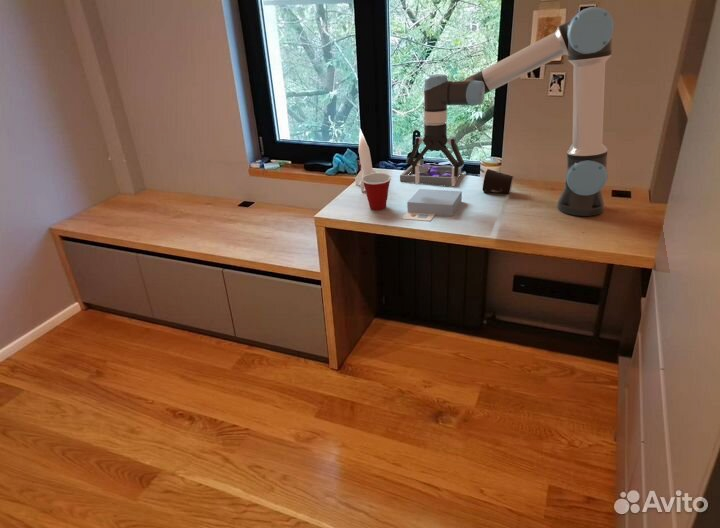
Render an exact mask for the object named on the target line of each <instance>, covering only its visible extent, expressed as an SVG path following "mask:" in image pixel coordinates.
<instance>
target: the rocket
mask: <svg viewBox="0 0 720 528" xmlns="http://www.w3.org/2000/svg"><path fill="white" fill-rule="evenodd" d="M358 139H359V140H358V151H357V152H358V154H359V156H358V157H359V162H360V167H361V169H360V171H359V172H358V173H357V174H356V177H355V178H354V181H355V185H358V186H359V185H360V191H361V192H364V189H365V186H364V183H363V181H362V177H363V176H365V175H368V174H372V173H377V172H376V170H374V169H373V165H372V164H373V163H372V157H371V152H370V148H369V145H368V143H367V141H366V138H365V136H364V133H363V131H362V129H361V128H359V137H358Z"/></svg>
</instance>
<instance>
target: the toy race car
mask: <svg viewBox="0 0 720 528" xmlns="http://www.w3.org/2000/svg"><path fill="white" fill-rule="evenodd" d="M431 166H432V165H431V164H429V163H428V164H427V163H423V164H422V167H419V176H435V177H451V176H452V173H451V172H450V171H446V172H445V173H439V172H438V167H433V168H431Z"/></svg>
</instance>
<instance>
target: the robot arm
mask: <svg viewBox="0 0 720 528" xmlns="http://www.w3.org/2000/svg"><path fill="white" fill-rule="evenodd" d="M614 32H615V22H614V19H613V16H612V15H611V13H610V12H609V11H608V10H607V9H604V8H603V7H600V6H590V7H587V8H586V7H585V8H584V9H582V10H580V11H578V12H577V13H576V14H575V15H574V16H573V17H572V18H571V19H569V20H568V21H566V22H564V23H562V24H561V25H559V26H557V28H556V30H555V31H554V32H553V33H550V34H548V35H546V36H545V37H543V38H541V39H539V40H537V41H535V42H533V43H531V44H529V45H528V46H526V47H524V48H522V49H520V50H518V51H516V52H514V53H513V54H511V55H509V56H507V57H505V58H503V59H501V60H499V61H497V62H496V63H493V64H492V65H489V66H488V67H486V68H484V69H482V70H480V71H478V72H476V73H475V74H472V75H470V76H468V77H467V78H465V79H464V80H458V81H457V80H453V81H452V80H448V76H447V75H446V74H429V75H427V76H425V78H424V89H423V92H424V93H423V95H424V96H423V98H424V99H423V100H424V101H423V102H424V103H423V105H424V109H423V111H424V115H423V116H424V117H423V120H424V123H425V124H424V126H423V127H424V128H423V129H424V137H421V136H417V137H416V138H415V140H414V146H413V148H412V150H411V153H410V155H409V157H408V159H407V162H406V163H407V165H410V166H411V165H412V167H413V171H412V175H415V183H414V184H415V185H419V173H420V171H419V165H420V164H418V163H419V162H420V161H421V159H422V158H423V157H424V156H425V154H426V153H427V152H428V151H429V152H433V151H435V152H440V151H441V152H442V153H443V154H444V156H445V157H446V158H447V159H448V161H449V163H451V165H452V166H451V167H452V186H453V187H454V186H456V182H455V177H457V176H458V171H459V167H462V166H464V164H465V161H464V159H463V156H462V154H461V151H460V150H459V146H458V145H457V138H456V137H455V136H454V137H452V138H448V137H447V134H448V133H447V131H448V129H447V128H448V127H447V119H448V106H471V107H473V106H480V105H482V104H483V103H484V101H485V100H484V99H485V95H486V94H488V93H490V92H492V91H494V90H496V89H498V88H500V87H502V86H504V85H506V84H508V83H509V82H512V81H514V80H516V79H519V78H521V77H522V76H525V75H526V74H528V73H530V72H532V71H534V70H536V69H538V68H540V67H543V66H544V65H546V64H548V63H550V62H552V61H554V60H556V59H559V58H561V57H562V56H564V55H565V56H568V57H567V58H568V59H567V61H568V62H569V63H570V64H571V65H572V66H573V74H572V75H573V78H572V80H573V81H572V82H573V83H572V84H573V85H572V86H573V87H572V88H573V89H572V92H573V93H572V140H571V141H572V144H570V146H569V149H568V150H567V151H566V152H567V153H566V155H567V156H566V175H565V184H564V188H563V191H562V192H561V194H560V197H559V199H558V201H557V209H558V211H560V212H562V213H563V214H564V213H565V214H568V215H571V216H582V217H585V216H586V217H588V216H596V215H600V214H602V213H603V212H604V208H605V202H604V196H603V193H602V189H603V188H604V187H605V185H606V183H607V181H608V179H609V178H608V177H609V176H608V175H609V174H608V165H607V164H608V147H607V146H606V145H605V144H603V138H604V137H603V135H604V111H605V110H604V108H605V106H604V104H605V82H606V80H605V79H606V62H607V61H608V60H609V59H610V58H611V57H612V48H613V47H612V46H613V35H614ZM422 143H423V144H424V145H425V147H424V148H423V149H422V150H421V151H420V153H419V154H418V156H417V157H416V158H415V156H416V154H417V152H418V150H419V147H420V145H421V144H422ZM447 143H448V144H449V145H450V146H451V150H452V152H453V154H452V153H451V151H450V150H449V149H448V147H447ZM453 155H455V157H454V156H453ZM414 159H415V160H414Z"/></svg>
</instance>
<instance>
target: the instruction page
mask: <svg viewBox="0 0 720 528" xmlns="http://www.w3.org/2000/svg"><path fill="white" fill-rule="evenodd" d="M435 216H436V215H435V214H424V213H411V212H408V211H407V212H406V214H404V216H403V217H402V218H401V219H402V220H411V221H420V222H421V221H423V222H424V221H425V222H431V221H432V220H433V218H434V217H435Z"/></svg>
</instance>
